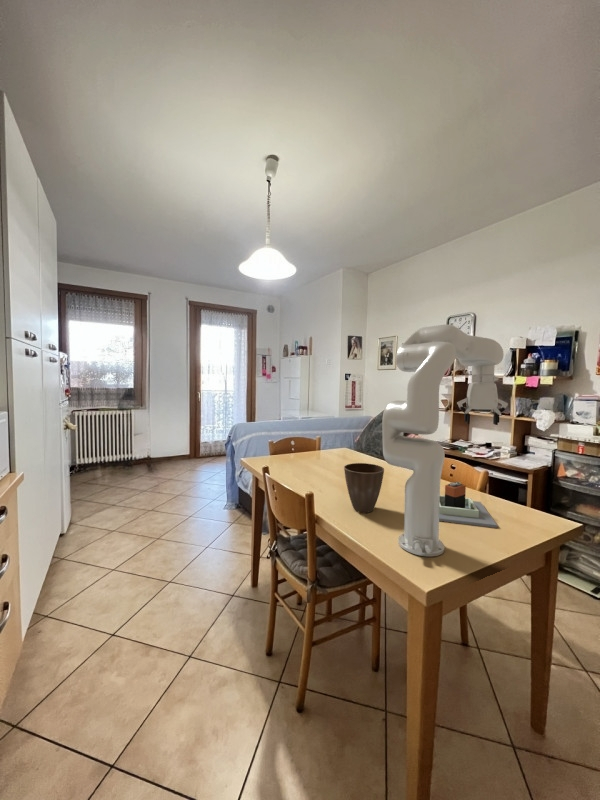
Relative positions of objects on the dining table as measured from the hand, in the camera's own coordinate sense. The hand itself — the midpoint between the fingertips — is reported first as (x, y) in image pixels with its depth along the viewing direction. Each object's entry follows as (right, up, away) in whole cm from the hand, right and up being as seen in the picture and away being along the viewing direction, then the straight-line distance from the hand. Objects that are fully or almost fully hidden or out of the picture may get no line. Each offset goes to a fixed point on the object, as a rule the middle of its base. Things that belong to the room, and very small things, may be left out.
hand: (481, 424), depth 122 cm
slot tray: (-12, -33, -4) cm, 35 cm away
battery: (-12, -32, -4) cm, 34 cm away
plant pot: (-46, -33, -2) cm, 57 cm away
